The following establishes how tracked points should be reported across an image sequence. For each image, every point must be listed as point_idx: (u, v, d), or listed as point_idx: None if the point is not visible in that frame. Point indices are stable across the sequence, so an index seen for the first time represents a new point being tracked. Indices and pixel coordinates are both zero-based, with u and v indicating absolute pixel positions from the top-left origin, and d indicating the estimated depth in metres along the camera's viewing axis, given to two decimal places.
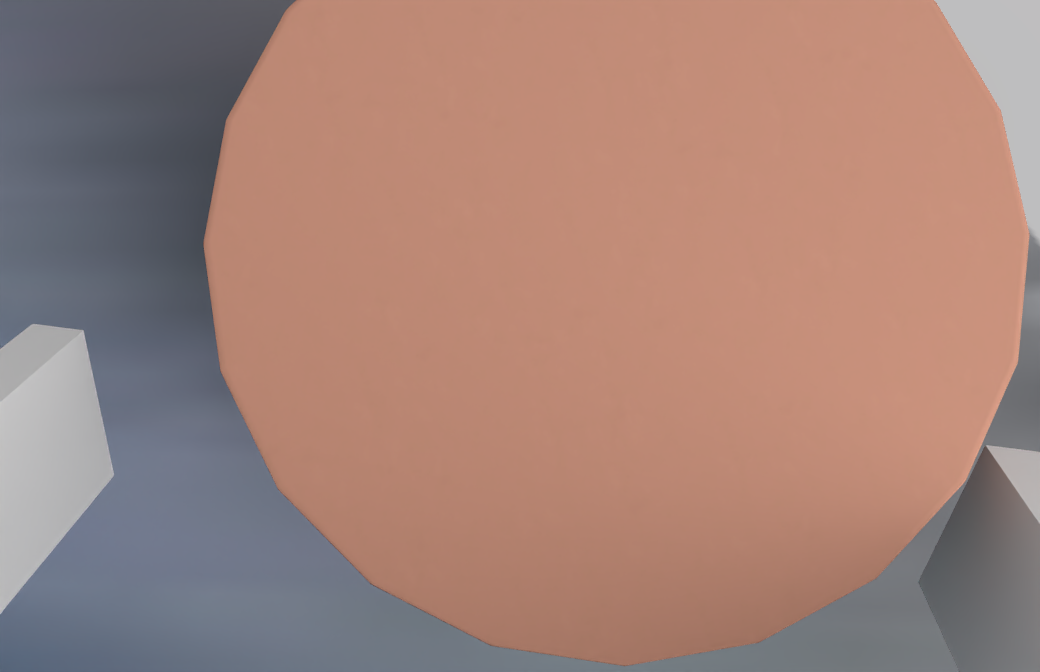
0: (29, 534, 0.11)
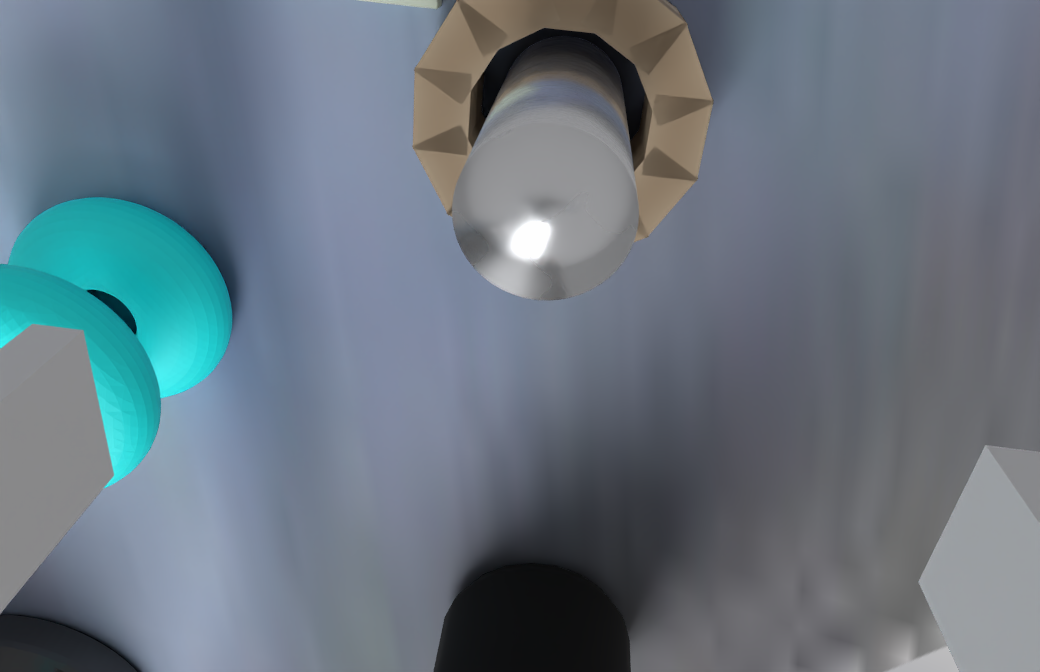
0: (29, 534, 0.11)
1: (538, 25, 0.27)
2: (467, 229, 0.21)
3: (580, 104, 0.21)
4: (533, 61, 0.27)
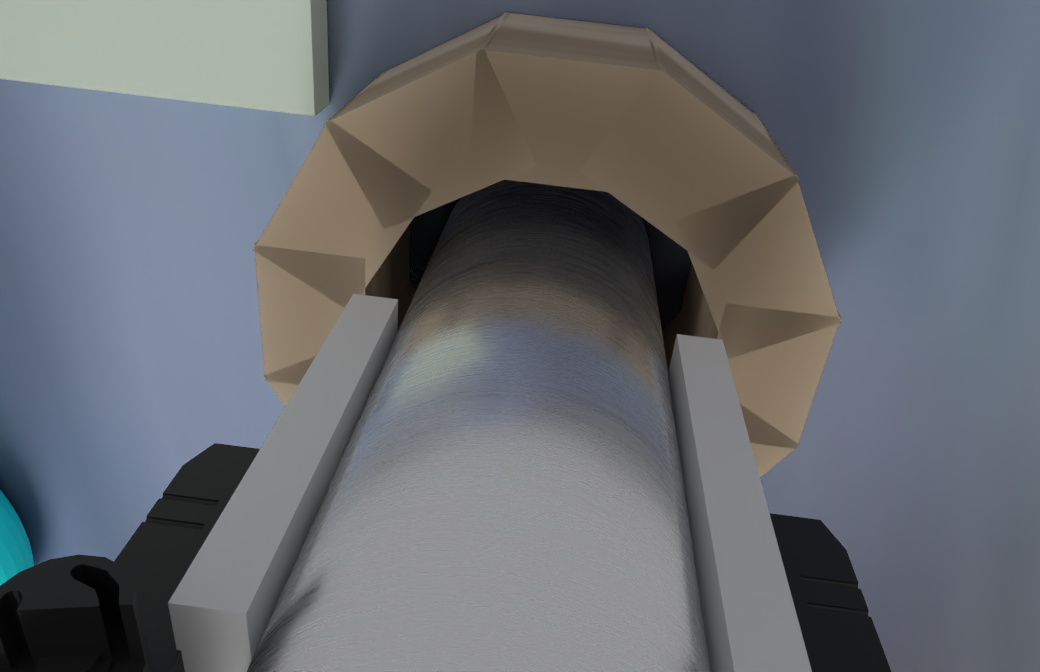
0: None
1: (492, 174, 0.13)
2: None
3: (567, 494, 0.08)
4: (479, 245, 0.13)
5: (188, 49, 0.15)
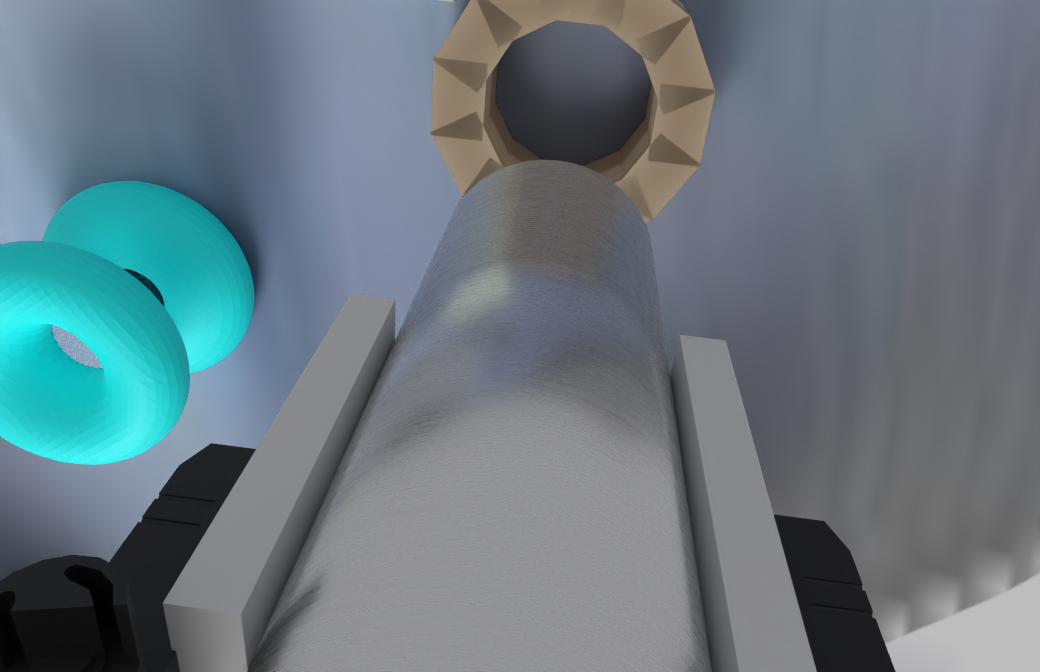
0: None
1: (551, 18, 0.28)
2: None
3: (568, 494, 0.08)
4: (481, 245, 0.13)
5: None
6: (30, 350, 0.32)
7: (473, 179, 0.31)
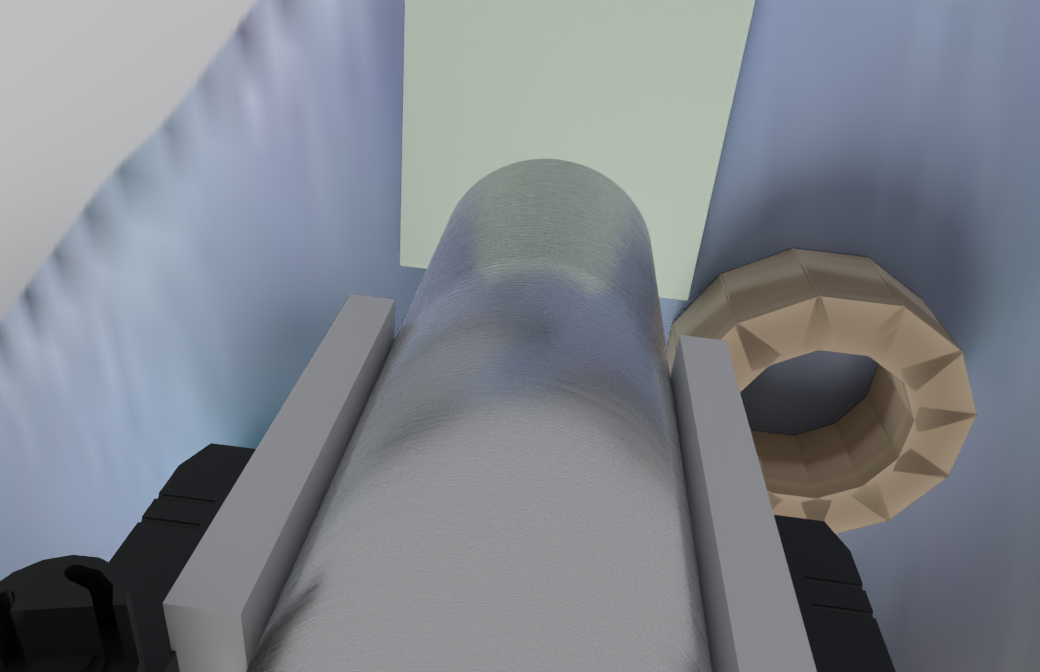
0: None
1: (813, 347, 0.27)
2: None
3: (569, 491, 0.08)
4: (481, 243, 0.13)
5: None
6: None
7: None
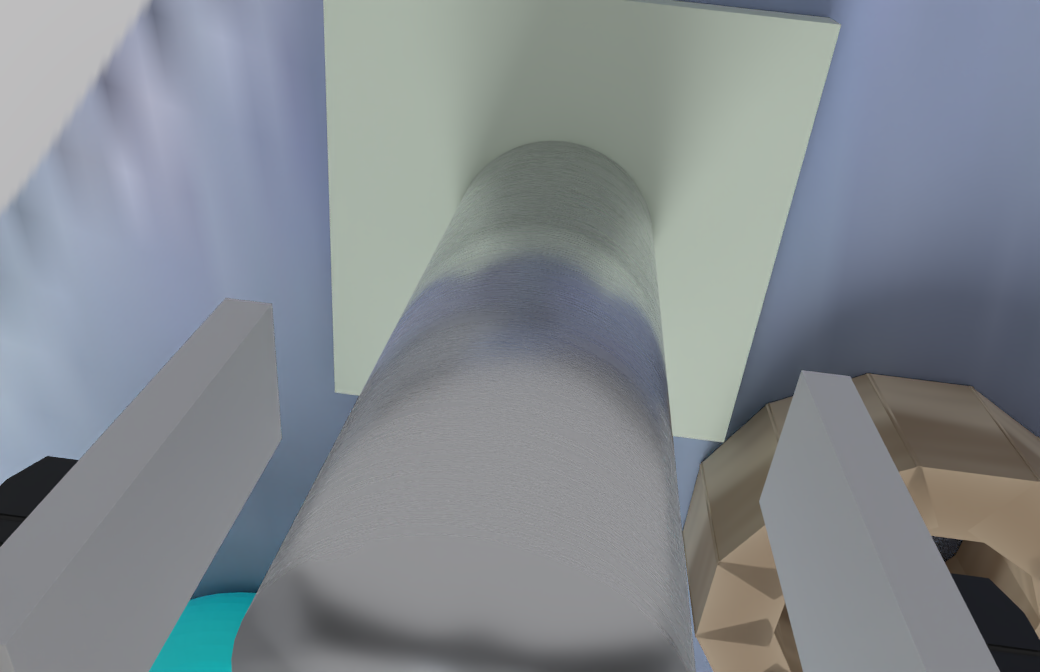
0: (233, 486, 0.12)
1: None
2: None
3: (560, 399, 0.09)
4: (491, 210, 0.15)
5: None
6: None
7: None
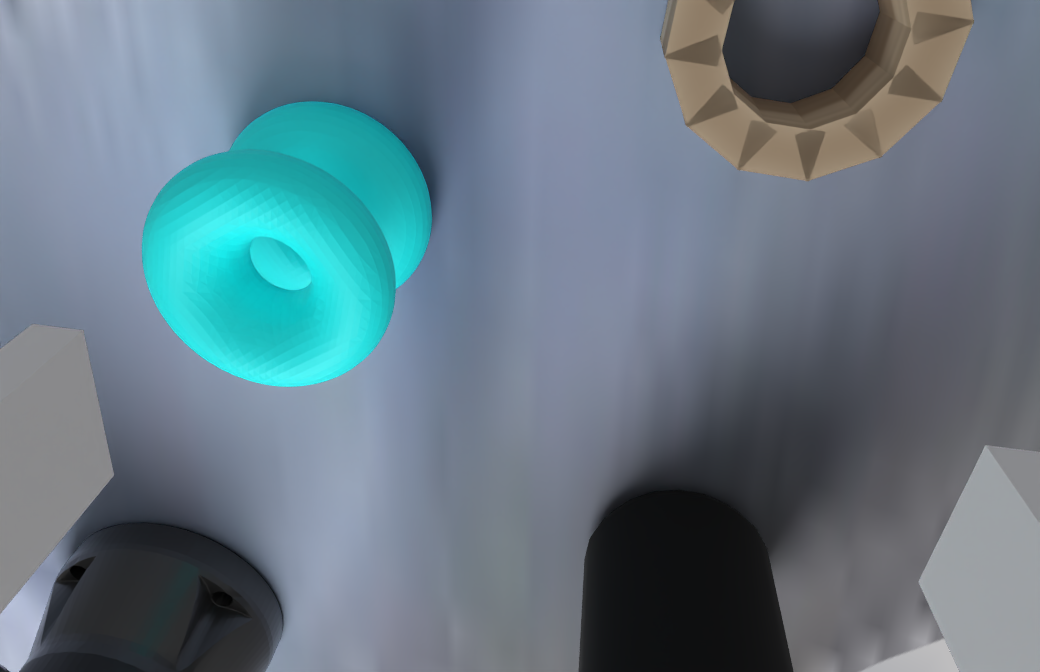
0: (28, 534, 0.11)
1: None
2: None
3: None
4: None
5: None
6: (234, 265, 0.32)
7: (701, 107, 0.31)
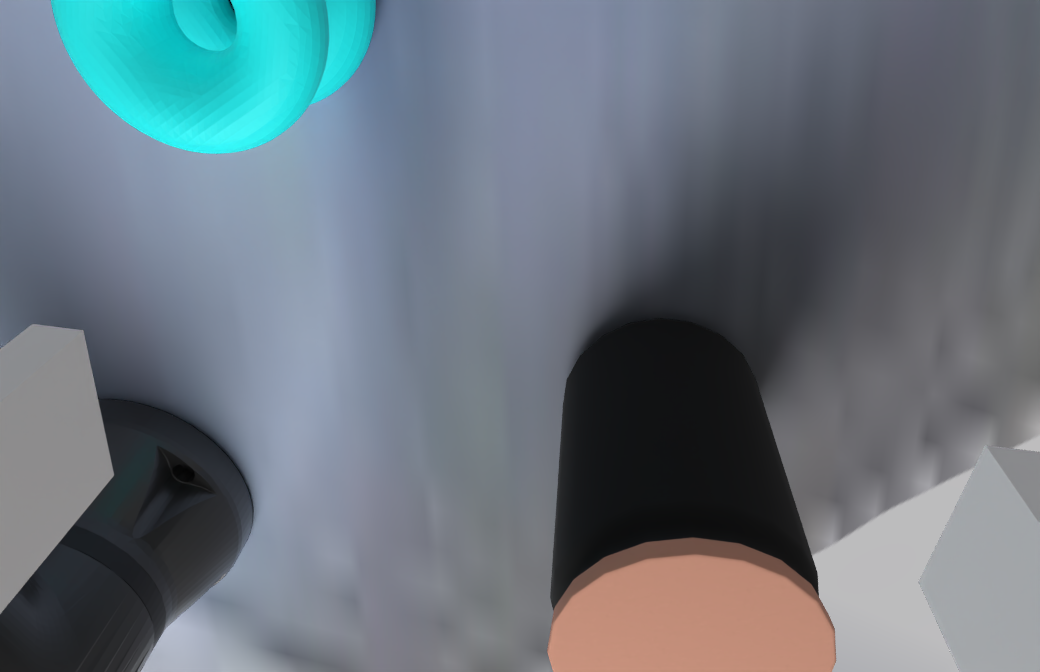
0: (29, 534, 0.11)
1: None
2: None
3: None
4: None
5: None
6: (153, 11, 0.29)
7: None
